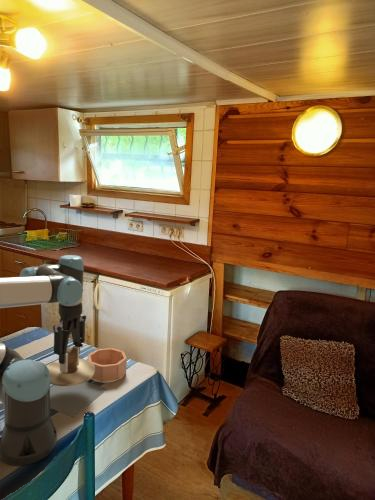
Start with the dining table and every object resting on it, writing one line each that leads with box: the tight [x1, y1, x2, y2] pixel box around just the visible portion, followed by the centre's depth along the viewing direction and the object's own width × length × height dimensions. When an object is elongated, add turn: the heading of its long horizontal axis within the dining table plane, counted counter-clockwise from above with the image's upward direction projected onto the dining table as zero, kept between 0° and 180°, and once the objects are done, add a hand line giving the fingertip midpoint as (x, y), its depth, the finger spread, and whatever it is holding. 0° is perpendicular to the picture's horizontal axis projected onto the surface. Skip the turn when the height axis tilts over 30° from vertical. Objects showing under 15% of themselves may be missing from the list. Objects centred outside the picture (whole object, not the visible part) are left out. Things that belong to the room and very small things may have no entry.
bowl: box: [87, 347, 128, 384], centre depth 143 cm, size 14×14×7 cm
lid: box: [46, 346, 95, 386], centre depth 125 cm, size 17×17×8 cm
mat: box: [50, 381, 108, 418], centre depth 128 cm, size 18×18×1 cm
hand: (69, 367), depth 126 cm, fingers closed on lid, 5 cm apart
